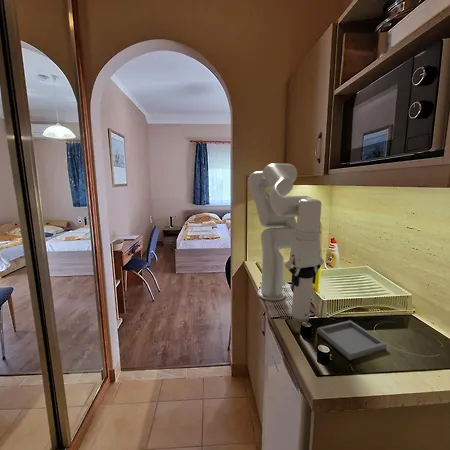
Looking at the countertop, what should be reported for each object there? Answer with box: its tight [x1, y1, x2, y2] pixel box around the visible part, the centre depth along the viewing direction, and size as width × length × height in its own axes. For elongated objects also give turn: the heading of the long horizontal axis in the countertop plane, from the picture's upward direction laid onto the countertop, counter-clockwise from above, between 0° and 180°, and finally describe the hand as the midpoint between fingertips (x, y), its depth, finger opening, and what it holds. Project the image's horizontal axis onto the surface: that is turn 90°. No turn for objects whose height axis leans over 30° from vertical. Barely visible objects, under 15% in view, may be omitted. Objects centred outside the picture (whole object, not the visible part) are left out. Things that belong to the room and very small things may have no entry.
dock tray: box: [316, 319, 387, 361], centre depth 92 cm, size 15×15×2 cm
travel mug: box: [291, 267, 315, 323], centre depth 98 cm, size 6×7×20 cm
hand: (303, 283), depth 97 cm, fingers closed on travel mug, 6 cm apart
